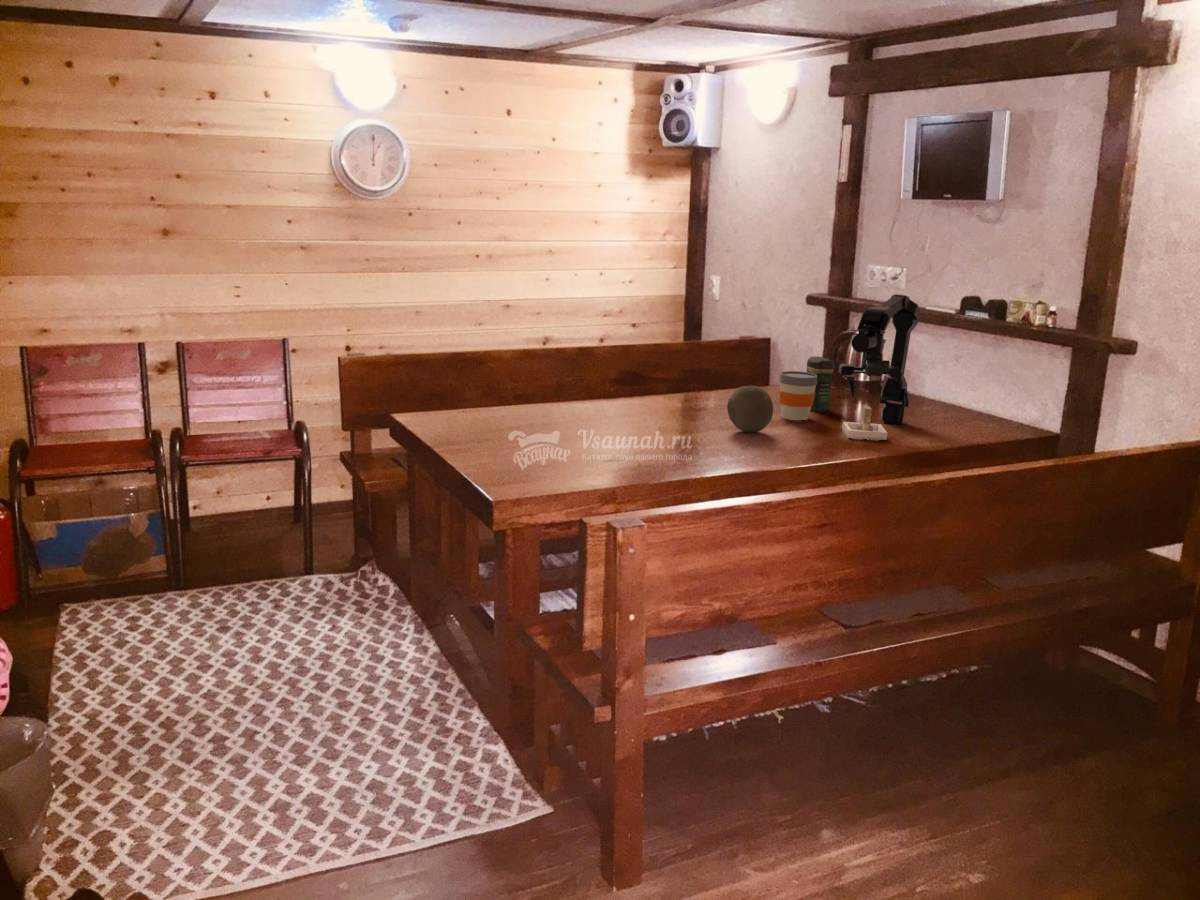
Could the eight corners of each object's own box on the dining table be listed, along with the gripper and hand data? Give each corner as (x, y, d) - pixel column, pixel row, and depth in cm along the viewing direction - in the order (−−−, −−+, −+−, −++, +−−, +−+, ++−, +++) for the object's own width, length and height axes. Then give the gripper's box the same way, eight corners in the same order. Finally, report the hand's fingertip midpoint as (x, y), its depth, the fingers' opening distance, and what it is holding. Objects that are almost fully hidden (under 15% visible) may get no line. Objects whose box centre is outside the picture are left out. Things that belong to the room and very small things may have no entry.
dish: (879, 431, 321) (880, 422, 320) (886, 441, 309) (887, 431, 309) (842, 429, 322) (843, 420, 321) (847, 438, 310) (848, 428, 310)
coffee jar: (832, 411, 348) (838, 359, 343) (812, 412, 346) (818, 359, 341) (818, 405, 357) (823, 354, 352) (799, 406, 354) (804, 355, 350)
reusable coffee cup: (801, 413, 343) (806, 370, 339) (820, 421, 332) (825, 377, 328) (769, 414, 339) (773, 371, 335) (787, 422, 328) (791, 378, 324)
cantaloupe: (733, 425, 321) (737, 379, 317) (776, 431, 315) (780, 385, 311) (719, 434, 309) (723, 386, 305) (763, 440, 303) (767, 392, 299)
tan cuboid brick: (866, 430, 317) (869, 406, 315) (868, 433, 313) (871, 409, 311) (860, 430, 317) (862, 405, 315) (862, 433, 313) (865, 408, 311)
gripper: (846, 351, 303) (841, 401, 307) (908, 354, 302) (902, 404, 306) (840, 345, 314) (835, 394, 318) (900, 348, 312) (895, 397, 316)
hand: (867, 397), depth 314 cm, fingers open, 9 cm apart
